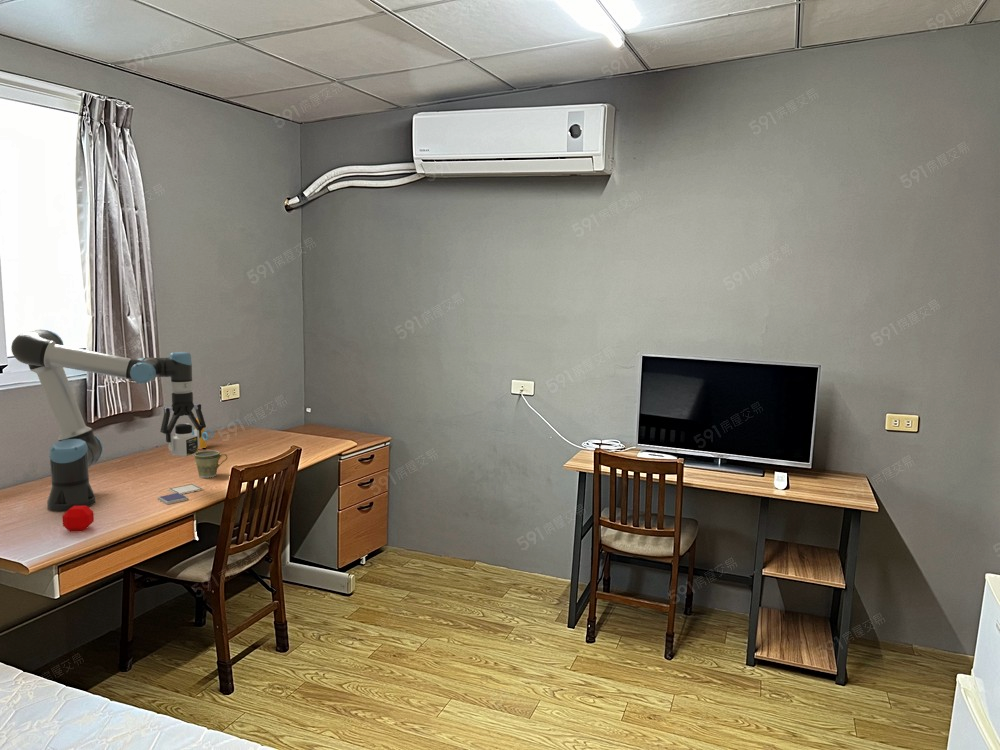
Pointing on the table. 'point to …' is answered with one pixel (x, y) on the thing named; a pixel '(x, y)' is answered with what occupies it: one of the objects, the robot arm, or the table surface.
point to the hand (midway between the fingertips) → (184, 448)
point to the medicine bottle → (184, 441)
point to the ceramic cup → (208, 463)
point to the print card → (185, 489)
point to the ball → (78, 518)
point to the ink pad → (172, 498)
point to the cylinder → (203, 437)
